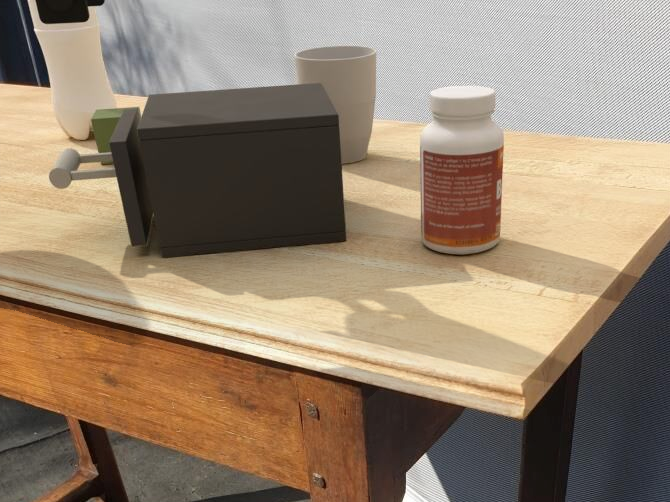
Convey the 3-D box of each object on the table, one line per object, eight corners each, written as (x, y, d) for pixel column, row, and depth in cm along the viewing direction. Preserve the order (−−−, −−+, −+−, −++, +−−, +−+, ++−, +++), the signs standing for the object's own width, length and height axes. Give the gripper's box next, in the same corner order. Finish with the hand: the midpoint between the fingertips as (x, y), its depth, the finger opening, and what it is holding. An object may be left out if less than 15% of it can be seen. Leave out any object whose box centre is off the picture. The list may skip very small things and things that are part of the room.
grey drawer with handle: (60, 253, 64) (32, 148, 60) (79, 207, 73) (56, 114, 69) (303, 231, 66) (294, 128, 62) (293, 190, 76) (284, 97, 71)
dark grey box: (161, 258, 65) (136, 128, 60) (169, 208, 75) (148, 94, 70) (346, 241, 67) (338, 114, 61) (329, 195, 77) (321, 82, 71)
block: (100, 164, 88) (90, 119, 86) (105, 153, 92) (95, 109, 90) (144, 161, 89) (136, 115, 86) (147, 150, 93) (139, 106, 90)
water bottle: (50, 136, 100) (-14, -118, 86) (105, 125, 104) (52, -120, 90) (76, 145, 96) (13, -121, 81) (132, 133, 99) (82, -123, 85)
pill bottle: (512, 250, 64) (520, 95, 57) (436, 261, 62) (436, 103, 56) (482, 225, 69) (487, 79, 62) (411, 235, 67) (408, 87, 61)
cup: (394, 152, 88) (392, 48, 83) (350, 172, 83) (344, 61, 77) (333, 144, 92) (326, 44, 86) (287, 162, 87) (277, 56, 81)
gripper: (-24, -282, 57) (42, 3, 67) (-101, -338, 43) (-4, 33, 53) (89, -283, 58) (137, -2, 68) (49, -337, 44) (117, 27, 54)
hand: (75, 13), depth 60 cm, fingers open, 9 cm apart
